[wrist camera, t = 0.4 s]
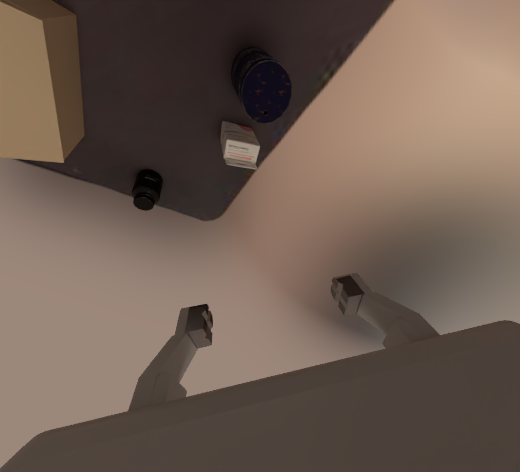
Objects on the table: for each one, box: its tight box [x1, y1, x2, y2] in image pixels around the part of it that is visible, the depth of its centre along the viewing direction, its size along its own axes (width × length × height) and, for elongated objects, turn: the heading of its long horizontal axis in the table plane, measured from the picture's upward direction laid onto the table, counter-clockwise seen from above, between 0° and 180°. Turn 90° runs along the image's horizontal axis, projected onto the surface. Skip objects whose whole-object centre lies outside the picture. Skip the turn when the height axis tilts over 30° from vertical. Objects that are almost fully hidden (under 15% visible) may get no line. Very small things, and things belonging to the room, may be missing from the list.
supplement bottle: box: [132, 170, 163, 210], centre depth 53 cm, size 7×7×12 cm
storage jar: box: [231, 47, 292, 124], centre depth 39 cm, size 10×10×15 cm
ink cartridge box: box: [220, 121, 260, 169], centre depth 48 cm, size 9×5×15 cm, turn 74°
